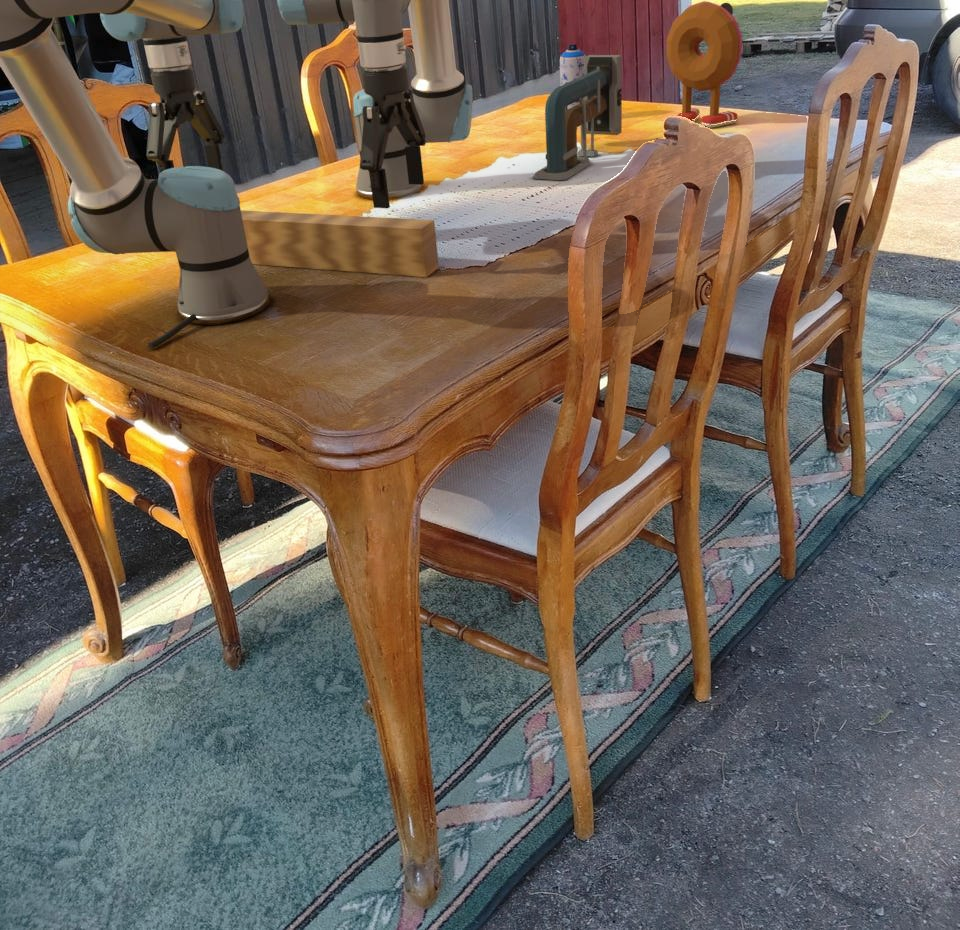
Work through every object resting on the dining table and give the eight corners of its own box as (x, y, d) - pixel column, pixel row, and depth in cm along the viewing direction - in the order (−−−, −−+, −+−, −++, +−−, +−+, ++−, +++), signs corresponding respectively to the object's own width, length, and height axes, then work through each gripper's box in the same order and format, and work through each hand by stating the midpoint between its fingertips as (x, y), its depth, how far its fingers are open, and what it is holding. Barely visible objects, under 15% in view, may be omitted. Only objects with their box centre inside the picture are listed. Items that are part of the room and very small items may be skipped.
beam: (183, 259, 192) (173, 215, 188) (199, 250, 196) (190, 207, 192) (426, 277, 172) (421, 228, 168) (439, 267, 176) (434, 220, 172)
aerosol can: (559, 122, 275) (557, 47, 265) (562, 117, 282) (559, 42, 272) (587, 121, 274) (585, 45, 263) (589, 115, 280) (587, 41, 270)
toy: (748, 122, 257) (756, -2, 242) (728, 130, 251) (735, 3, 236) (679, 116, 271) (683, -2, 255) (659, 123, 264) (661, 3, 249)
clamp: (565, 180, 221) (562, 81, 210) (530, 178, 225) (526, 81, 214) (621, 144, 247) (621, 55, 236) (589, 143, 251) (588, 55, 240)
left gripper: (141, 78, 163) (169, 204, 173) (229, 58, 183) (250, 173, 193) (107, 79, 166) (137, 203, 176) (197, 59, 186) (219, 172, 196)
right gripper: (368, 83, 148) (386, 219, 159) (436, 52, 167) (448, 175, 178) (325, 83, 150) (346, 216, 162) (397, 52, 169) (411, 174, 181)
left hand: (196, 187), depth 185 cm, fingers open, 13 cm apart
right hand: (399, 195), depth 170 cm, fingers open, 13 cm apart
